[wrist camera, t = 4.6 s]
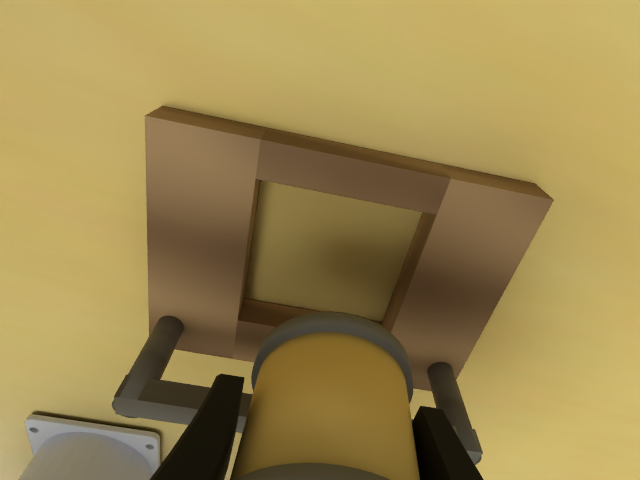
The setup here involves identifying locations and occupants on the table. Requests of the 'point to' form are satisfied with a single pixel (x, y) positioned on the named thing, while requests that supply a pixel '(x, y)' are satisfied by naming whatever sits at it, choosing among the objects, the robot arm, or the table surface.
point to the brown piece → (261, 317)
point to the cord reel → (329, 404)
